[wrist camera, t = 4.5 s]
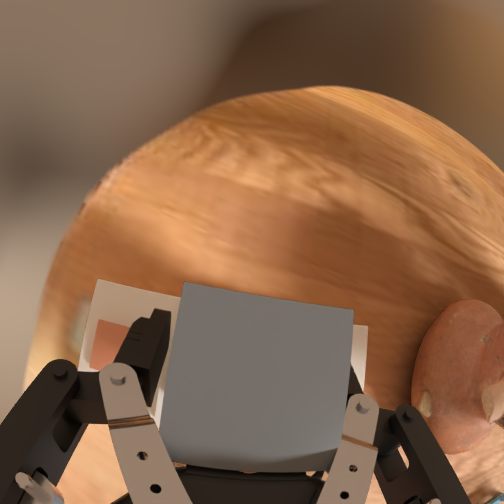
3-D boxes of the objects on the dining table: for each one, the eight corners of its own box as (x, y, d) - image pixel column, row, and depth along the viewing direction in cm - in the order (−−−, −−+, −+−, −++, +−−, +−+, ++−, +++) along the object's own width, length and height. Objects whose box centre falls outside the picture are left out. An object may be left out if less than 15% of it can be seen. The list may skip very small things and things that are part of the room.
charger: (271, 340, 17) (353, 307, 8) (260, 414, 15) (335, 469, 6) (194, 327, 16) (184, 278, 7) (182, 404, 14) (155, 458, 5)
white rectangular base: (347, 331, 21) (377, 323, 17) (336, 432, 18) (365, 443, 14) (110, 290, 19) (91, 272, 15) (90, 396, 16) (65, 401, 12)
